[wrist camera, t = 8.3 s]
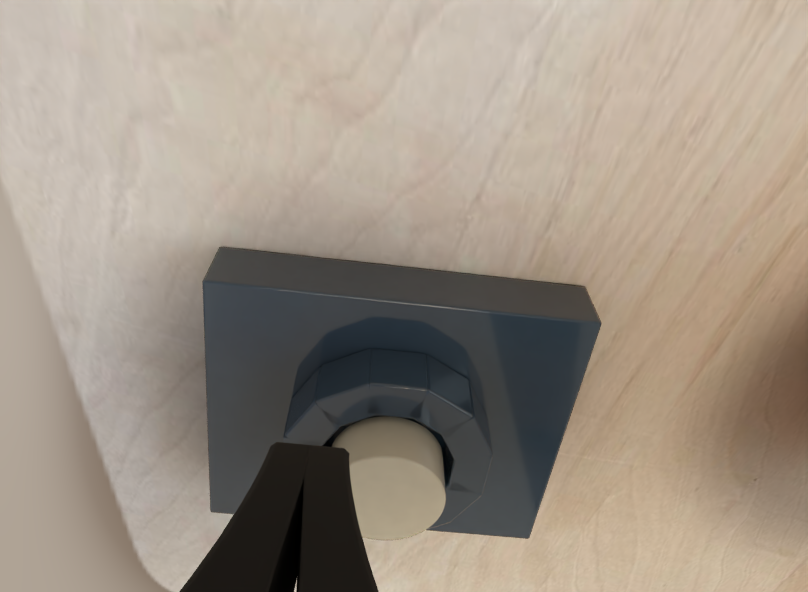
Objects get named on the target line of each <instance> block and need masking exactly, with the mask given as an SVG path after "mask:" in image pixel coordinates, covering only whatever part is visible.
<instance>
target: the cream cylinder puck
mask: <svg viewBox="0 0 808 592" xmlns="http://www.w3.org/2000/svg"><path fill="white" fill-rule="evenodd" d="M332 447H338V448H345V449H346V450H347V451H348V452H349V453H350V454H349V466H350V479H351V486H352V493H353V499H354V504H355V510H356V514H357V519H358V523H359V527H360V531H361V535H362V537H364V538H368V539H374V540H398V539H404V538H408V537H411V536H414V535H417V534H419V533H421V532H423V531H425V530H426V529H428V528H429V527H431V526H432V525H433V524H434V523H435V522H436V521H437V520H438V518H439V517H440V516H441V514H442V512H443V510H444V507H445V503H446V490H445V476H444V462H443V452H442V448H441V446H440V444H439V442H438V440H437V439H436V437H435V436H434V435H433V434H432V433H431V432H430V431H429V430H428V429H426V428H425V427H423V426H422V425H420V424H418V423H416V422H414V421H411V420H408V419H405V418H401V417H390V416H377V417H371V418H367V419H363V420H360V421H358V422H356V423H354V424H352V425H350V426H348V427H347V428H346V429H344V430H343V431H342V432H341V433H340V434H339V435H338V436H337V438H336V439H335V441H334V442H333V444H332Z"/></svg>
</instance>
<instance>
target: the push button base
mask: <svg viewBox="0 0 808 592" xmlns="http://www.w3.org/2000/svg"><path fill="white" fill-rule="evenodd" d="M202 283H203V312H204V341H205V369H206V398H207V427H208V455H209V484H210V510H211V512H214V513H226V514H235V512H236V511H237V509H238V507H239V506H240V504H241V503H242V501H243V499H244V498H245V496H246V494H247V492H248V491H249V489H250V487H251V485H252V484H253V482H254V480H255V478H256V476H257V474H258V472H259V470H260V468H261V466H262V464H263V462H264V460H265V458H266V456H267V453H268V451H269V448H270V446H271V445H273V444H274V443H276V442H282V443H294V444H305V445H316V446H327V447H332V444H333V442H334V441H335V439H336V438H337V436H338V435H339V434H340V433H341V432H342V431H343V430H344V429H346V428H347V427H348V426H350V425H352V424H354V423H356V422H358V421H360V420H363V419H367V418H371V417H377V416H390V417H401V418H405V419H408V420H411V421H414V422H416V423H418V424H420V425H422V426H423V427H425V428H426V429H428V430H429V431H430V432H431V433H432V434H433V435H434V436H435V437H436V439H437V440H438V442H439V444H440V446H441V448H442V452H443V462H444V476H445V490H446V503H445V507H444V510H443V512H442V514H441V516H440V517H439V518H438V520H437V521H436V522H435V523H434V524H433V525H432V526H431V527H429V528H428V529H426V530H430V531H442V532H454V533H466V534H478V535H490V536H502V537H514V538H526V539H528V538H529V537H530V534H531V531H532V528H533V525H534V522H535V519H536V516H537V513H538V510H539V507H540V504H541V501H542V498H543V495H544V492H545V489H546V487H547V484H548V481H549V478H550V475H551V472H552V469H553V466H554V463H555V460H556V457H557V454H558V451H559V448H560V445H561V442H562V439H563V436H564V433H565V430H566V427H567V424H568V421H569V418H570V416H571V413H572V410H573V407H574V404H575V401H576V398H577V395H578V392H579V389H580V386H581V383H582V380H583V377H584V374H585V371H586V368H587V365H588V362H589V359H590V356H591V353H592V350H593V347H594V345H595V342H596V339H597V336H598V333H599V330H600V327H601V321H600V318H599V316H598V314H597V312H596V309H595V307H594V305H593V303H592V300H591V298H590V296H589V294H588V292H587V289H586V288H585V287H583V286H574V285H564V284H555V283H546V282H537V281H528V280H519V279H510V278H501V277H492V276H482V275H473V274H464V273H455V272H446V271H437V270H428V269H419V268H409V267H400V266H391V265H382V264H373V263H364V262H355V261H346V260H336V259H327V258H318V257H309V256H300V255H291V254H282V253H273V252H264V251H254V250H245V249H236V248H227V247H219V249H218V251H217V253H216V255H215V257H214V259H213V261H212V263H211V265H210V267H209V269H208V271H207V273H206V275H205V277H204V279H203V281H202Z"/></svg>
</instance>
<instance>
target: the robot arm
mask: <svg viewBox="0 0 808 592" xmlns="http://www.w3.org/2000/svg"><path fill="white" fill-rule="evenodd" d="M349 454H350V453H349V452H348V451H347V450H346V449H345V448H338V447H327V446H316V445H305V444H294V443H282V442H276V443H274V444H273V445H271V446H270V448H269V451H268V453H267V456H266V458H265V460H264V462H263V464H262V466H261V468H260V470H259V472H258V474H257V476H256V478H255V480H254V482H253V484H252V485H251V487H250V489H249V491H248V492H247V494H246V496H245V498H244V499H243V501H242V503H241V504H240V506H239V507H238V509H237V511H236V512H235V514H234V515H233V517H232V518H231V520H230V522H229V523H228V525H227V526H226V528H225V529H224V531H223V533H222V534H221V536H220V537H219V539H218V540H217V541H216V543H215V544H214V546H213V547H212V548H211V550H210V551H209V553H208V554H207V555H206V557H205V558H204V560H203V561H202V562H201V564H200V565H199V566H198V568H197V569H196V571H195V572H194V573H193V575H192V576H191V577H190V579H189V580H188V581H187V583H186V584H185V585H184V587H183V588H182V589H181V590H180V592H294V588H295V584H296V580H297V592H378V589H377V586H376V583H375V580H374V577H373V574H372V571H371V567H370V564H369V561H368V557H367V554H366V550H365V546H364V542H363V539H362V535H361V531H360V527H359V523H358V519H357V514H356V510H355V504H354V499H353V493H352V486H351V479H350V466H349Z"/></svg>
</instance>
